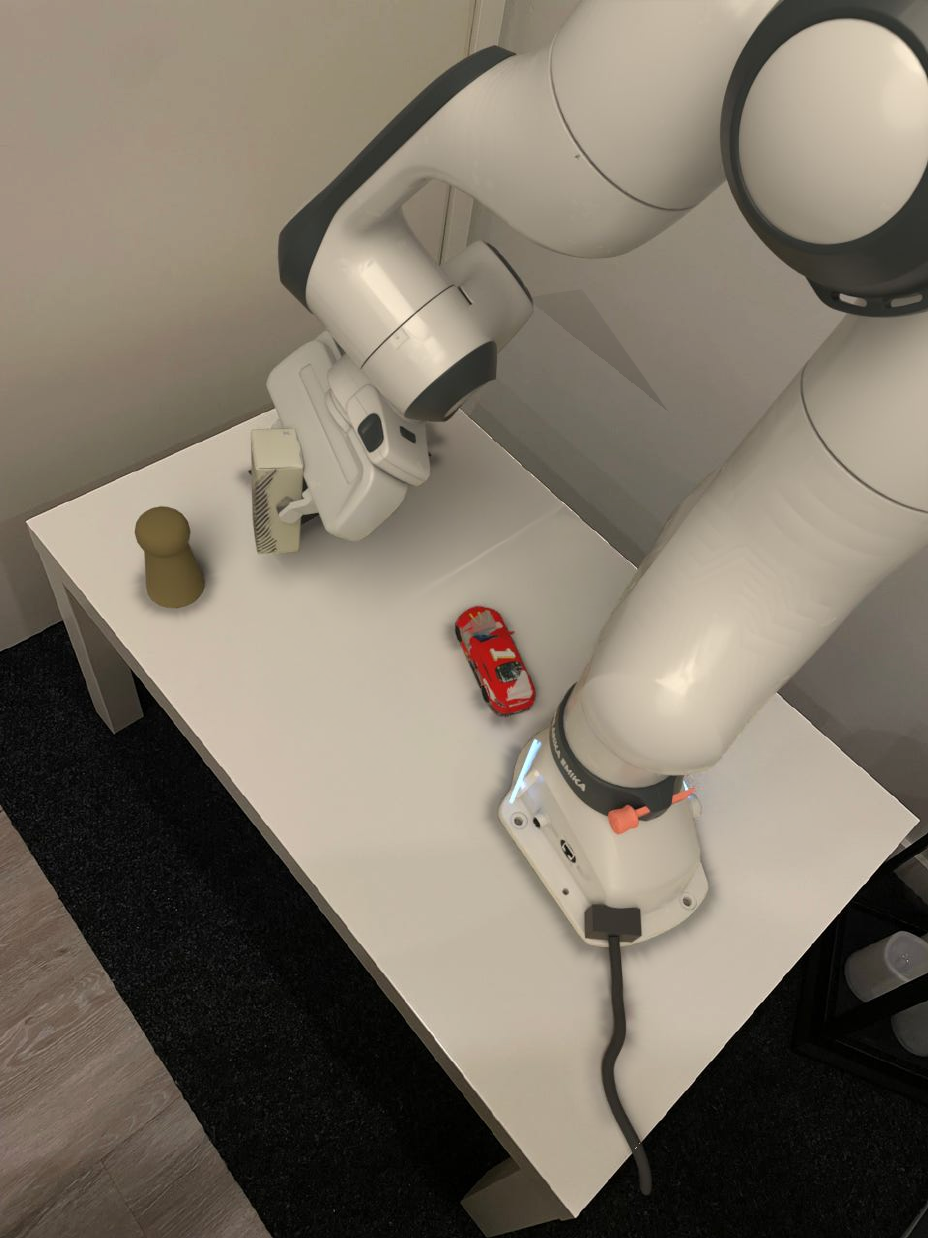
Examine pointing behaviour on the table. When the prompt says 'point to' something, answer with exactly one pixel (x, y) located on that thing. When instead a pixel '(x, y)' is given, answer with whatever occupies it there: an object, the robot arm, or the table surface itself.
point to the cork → (168, 558)
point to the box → (275, 487)
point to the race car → (495, 661)
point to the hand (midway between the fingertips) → (272, 490)
